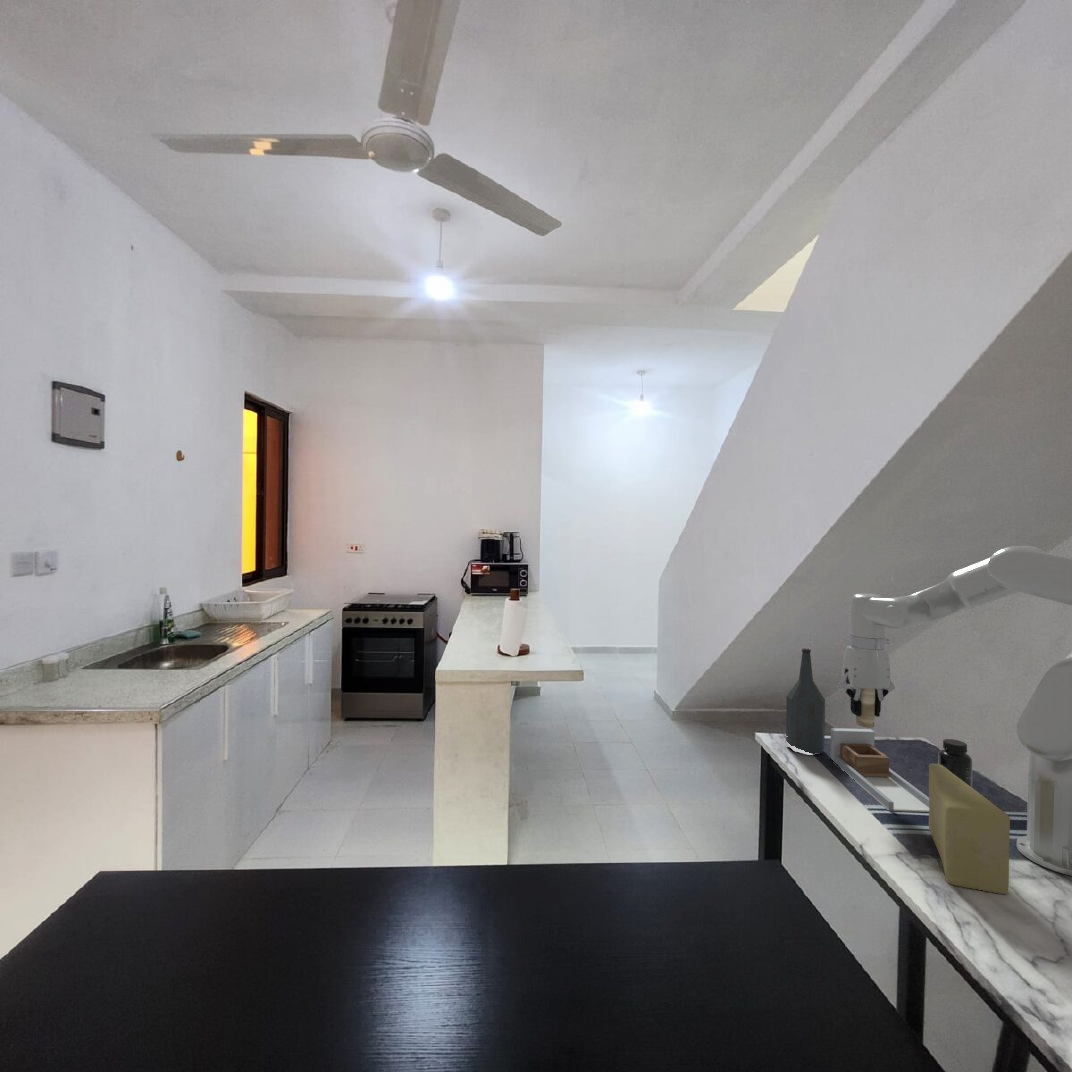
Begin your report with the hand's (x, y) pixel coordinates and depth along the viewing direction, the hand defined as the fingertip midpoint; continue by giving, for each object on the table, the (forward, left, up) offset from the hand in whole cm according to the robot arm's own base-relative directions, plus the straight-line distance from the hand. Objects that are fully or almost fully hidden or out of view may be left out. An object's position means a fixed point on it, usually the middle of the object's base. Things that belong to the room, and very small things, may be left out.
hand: (865, 714), depth 138 cm
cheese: (-29, -2, -19) cm, 35 cm away
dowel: (0, 0, -3) cm, 3 cm away
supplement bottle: (0, -22, -19) cm, 29 cm away
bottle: (+23, +5, -19) cm, 30 cm away
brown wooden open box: (+9, -5, -18) cm, 21 cm away
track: (+2, -5, -19) cm, 19 cm away
